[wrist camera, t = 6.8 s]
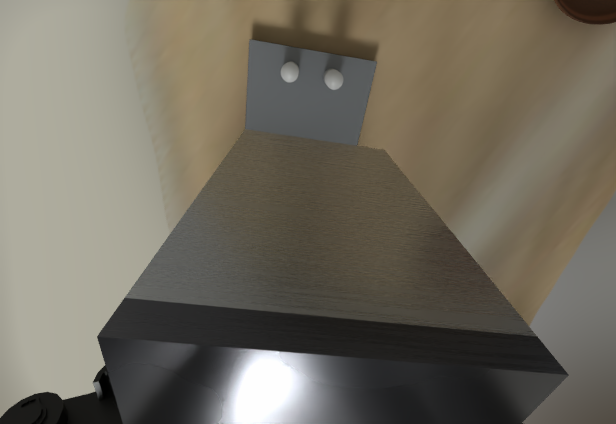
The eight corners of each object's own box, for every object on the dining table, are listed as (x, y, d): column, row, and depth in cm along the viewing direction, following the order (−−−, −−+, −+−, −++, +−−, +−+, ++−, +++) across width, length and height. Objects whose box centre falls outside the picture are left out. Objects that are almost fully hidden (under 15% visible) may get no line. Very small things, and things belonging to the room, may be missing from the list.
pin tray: (333, 235, 35) (336, 256, 32) (242, 224, 34) (235, 244, 31) (374, 61, 26) (385, 63, 23) (251, 39, 25) (243, 37, 22)
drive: (331, 333, 18) (357, 589, 10) (235, 324, 18) (171, 588, 9) (384, 149, 13) (569, 375, 4) (244, 128, 12) (96, 336, 3)
